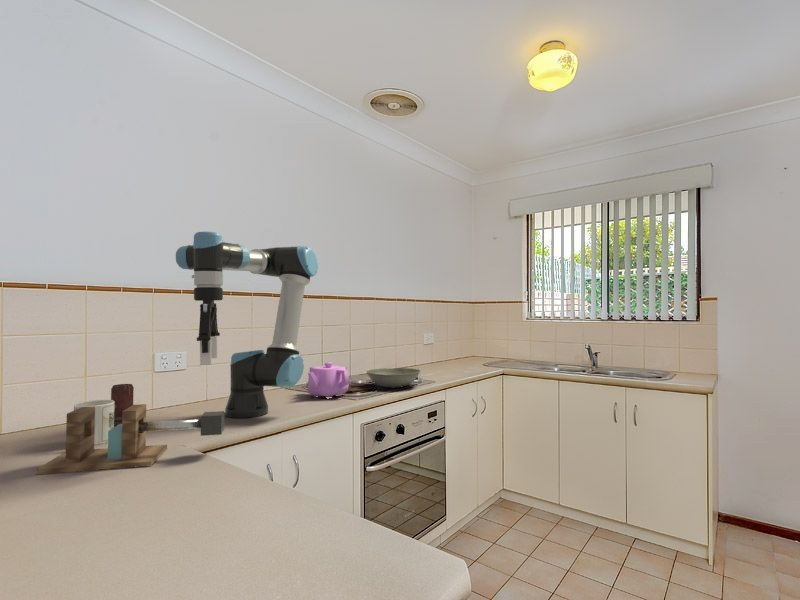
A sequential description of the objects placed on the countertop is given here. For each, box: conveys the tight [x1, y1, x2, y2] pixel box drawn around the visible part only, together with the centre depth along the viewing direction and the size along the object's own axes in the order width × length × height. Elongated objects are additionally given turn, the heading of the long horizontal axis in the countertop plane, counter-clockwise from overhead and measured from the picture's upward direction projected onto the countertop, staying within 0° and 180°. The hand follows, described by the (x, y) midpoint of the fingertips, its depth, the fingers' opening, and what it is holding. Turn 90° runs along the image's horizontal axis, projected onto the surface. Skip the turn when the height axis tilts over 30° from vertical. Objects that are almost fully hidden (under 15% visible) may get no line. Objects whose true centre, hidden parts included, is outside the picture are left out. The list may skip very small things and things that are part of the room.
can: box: [110, 383, 135, 427], centre depth 143 cm, size 6×6×14 cm
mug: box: [73, 399, 115, 446], centre depth 128 cm, size 10×12×11 cm
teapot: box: [307, 361, 350, 398], centre depth 199 cm, size 19×18×15 cm
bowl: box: [366, 367, 421, 388], centre depth 225 cm, size 27×28×8 cm
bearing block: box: [36, 403, 168, 475], centre depth 112 cm, size 24×14×13 cm, turn 104°
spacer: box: [107, 424, 122, 460], centre depth 113 cm, size 3×7×7 cm, turn 14°
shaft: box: [138, 410, 225, 437], centre depth 116 cm, size 21×5×5 cm, turn 104°
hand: (209, 361), depth 127 cm, fingers open, 13 cm apart
